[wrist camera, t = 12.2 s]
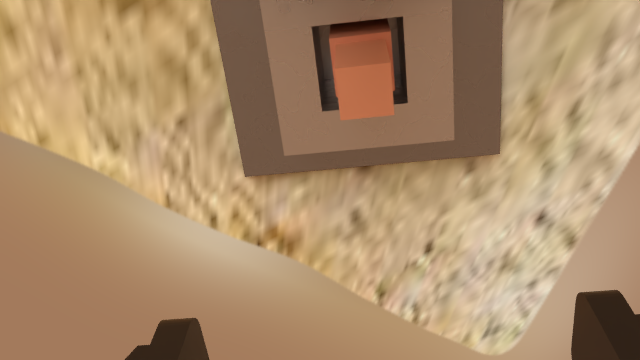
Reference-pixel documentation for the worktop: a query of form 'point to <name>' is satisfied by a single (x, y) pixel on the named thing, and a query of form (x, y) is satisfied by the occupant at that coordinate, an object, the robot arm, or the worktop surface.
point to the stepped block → (363, 68)
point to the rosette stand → (319, 90)
